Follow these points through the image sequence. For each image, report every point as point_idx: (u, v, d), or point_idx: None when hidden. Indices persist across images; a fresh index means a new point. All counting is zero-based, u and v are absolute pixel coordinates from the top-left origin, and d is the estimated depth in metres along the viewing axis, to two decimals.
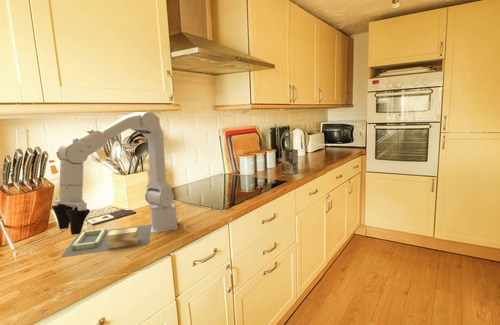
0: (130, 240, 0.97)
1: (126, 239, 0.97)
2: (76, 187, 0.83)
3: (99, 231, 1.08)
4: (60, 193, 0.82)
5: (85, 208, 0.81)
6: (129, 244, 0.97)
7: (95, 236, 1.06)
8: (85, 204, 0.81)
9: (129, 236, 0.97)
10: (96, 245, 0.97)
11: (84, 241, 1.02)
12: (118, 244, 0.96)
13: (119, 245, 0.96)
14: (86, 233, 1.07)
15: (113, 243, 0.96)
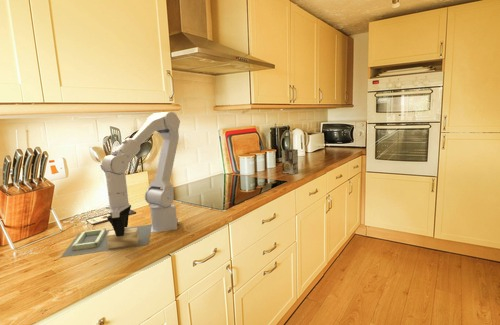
0: (130, 240, 0.97)
1: (126, 239, 0.97)
2: (116, 195, 0.93)
3: (99, 231, 1.08)
4: None
5: (117, 216, 0.90)
6: (129, 244, 0.97)
7: (95, 236, 1.06)
8: (117, 212, 0.90)
9: (129, 236, 0.97)
10: (96, 245, 0.97)
11: (84, 241, 1.02)
12: (118, 244, 0.96)
13: (119, 245, 0.96)
14: (86, 233, 1.07)
15: (113, 243, 0.96)
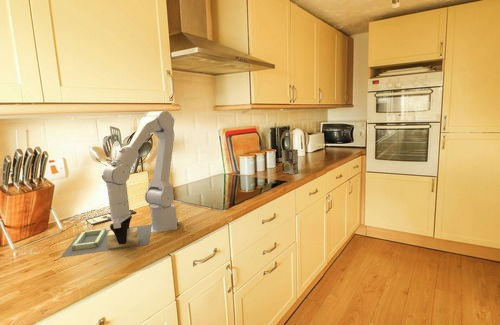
0: (130, 240, 0.97)
1: None
2: (118, 205, 0.94)
3: (99, 231, 1.08)
4: None
5: (119, 226, 0.90)
6: (129, 244, 0.97)
7: (95, 236, 1.06)
8: (119, 223, 0.90)
9: (129, 236, 0.97)
10: (96, 245, 0.97)
11: (84, 241, 1.02)
12: (118, 244, 0.96)
13: (119, 245, 0.96)
14: (86, 233, 1.07)
15: (113, 243, 0.96)
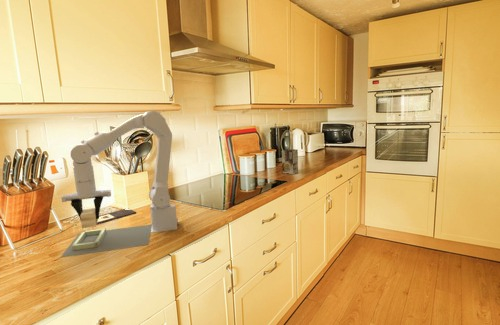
0: None
1: None
2: None
3: (99, 231, 1.08)
4: None
5: None
6: None
7: (95, 236, 1.06)
8: None
9: None
10: (96, 245, 0.97)
11: (84, 241, 1.02)
12: None
13: None
14: (86, 233, 1.07)
15: None
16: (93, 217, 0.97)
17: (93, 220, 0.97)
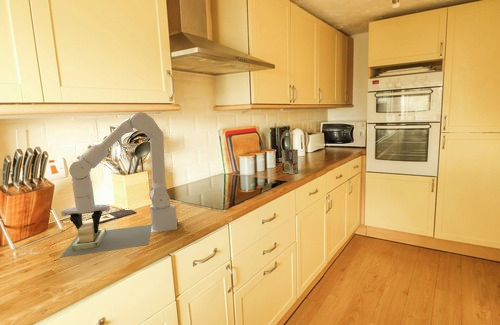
0: None
1: None
2: None
3: (99, 231, 1.08)
4: None
5: None
6: None
7: None
8: None
9: None
10: (96, 245, 0.97)
11: None
12: None
13: None
14: None
15: None
16: (90, 232, 0.98)
17: (90, 235, 0.98)
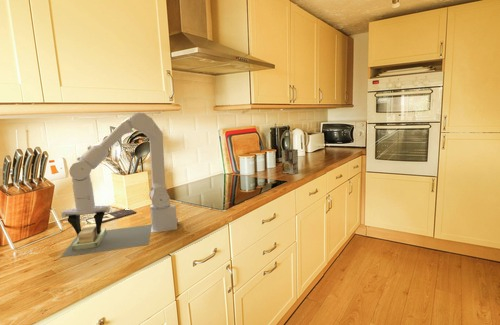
0: None
1: None
2: None
3: None
4: None
5: None
6: None
7: None
8: None
9: None
10: (96, 245, 0.97)
11: None
12: None
13: None
14: None
15: None
16: (90, 236, 0.98)
17: (90, 239, 0.98)
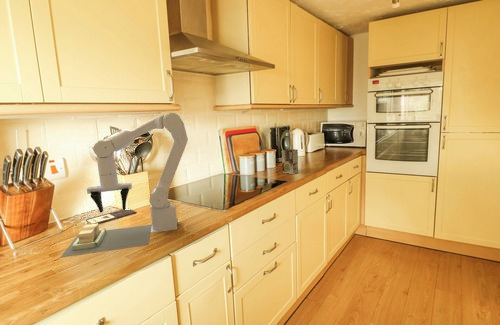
0: None
1: None
2: None
3: (99, 231, 1.08)
4: None
5: None
6: None
7: None
8: None
9: None
10: (96, 245, 0.97)
11: None
12: None
13: None
14: None
15: None
16: (90, 236, 0.98)
17: (90, 239, 0.98)
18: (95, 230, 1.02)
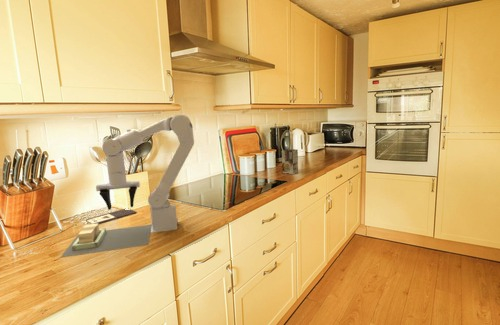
0: None
1: None
2: None
3: (99, 231, 1.08)
4: None
5: None
6: None
7: None
8: None
9: None
10: (96, 245, 0.97)
11: None
12: None
13: None
14: None
15: None
16: (90, 236, 0.98)
17: (90, 239, 0.98)
18: (95, 230, 1.02)
